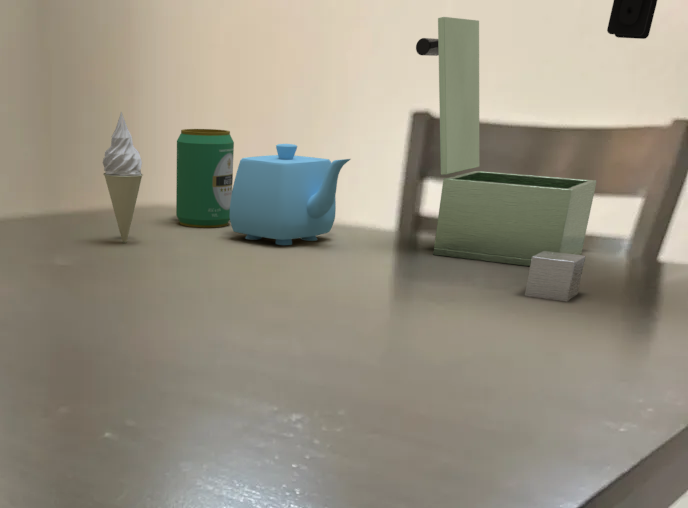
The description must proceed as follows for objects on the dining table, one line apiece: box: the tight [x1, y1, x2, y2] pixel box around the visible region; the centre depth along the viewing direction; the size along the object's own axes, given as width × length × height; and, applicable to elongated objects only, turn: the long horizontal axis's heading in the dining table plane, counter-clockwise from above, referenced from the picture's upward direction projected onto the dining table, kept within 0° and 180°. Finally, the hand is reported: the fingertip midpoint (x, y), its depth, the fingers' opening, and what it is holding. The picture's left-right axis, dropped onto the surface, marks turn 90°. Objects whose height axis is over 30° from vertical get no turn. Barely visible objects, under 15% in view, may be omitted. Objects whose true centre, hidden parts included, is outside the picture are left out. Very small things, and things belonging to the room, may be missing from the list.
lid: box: [415, 16, 480, 176], centre depth 121 cm, size 16×13×5 cm
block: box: [524, 251, 586, 303], centre depth 101 cm, size 4×4×4 cm
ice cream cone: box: [102, 111, 144, 244], centre depth 122 cm, size 5×5×15 cm
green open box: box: [432, 170, 597, 267], centre depth 123 cm, size 16×13×9 cm
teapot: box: [229, 143, 352, 246], centre depth 128 cm, size 12×18×12 cm
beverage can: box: [175, 128, 235, 229], centre depth 138 cm, size 8×8×12 cm
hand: (627, 36), depth 92 cm, fingers open, 9 cm apart
